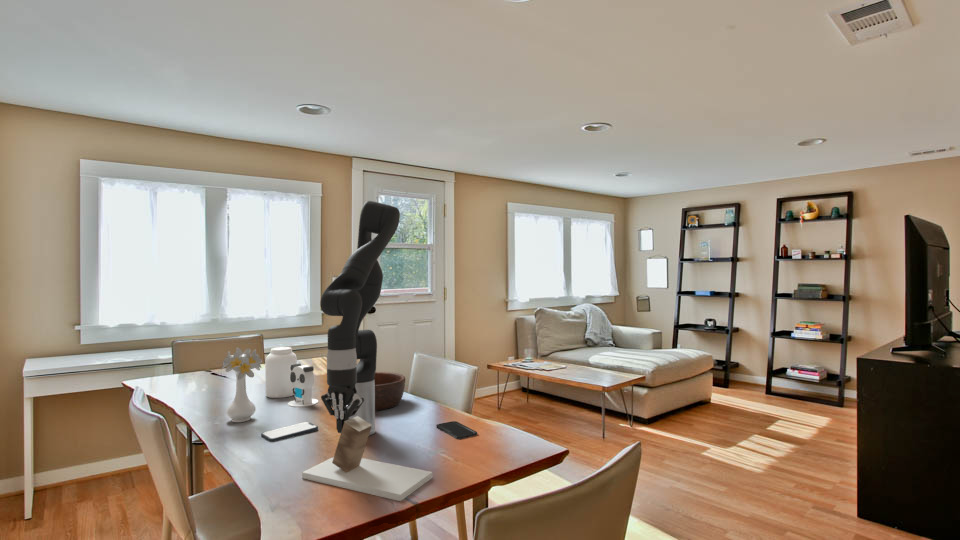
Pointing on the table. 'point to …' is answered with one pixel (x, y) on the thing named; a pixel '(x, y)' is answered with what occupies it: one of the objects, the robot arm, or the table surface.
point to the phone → (456, 430)
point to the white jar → (279, 372)
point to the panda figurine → (302, 385)
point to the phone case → (289, 431)
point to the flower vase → (241, 383)
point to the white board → (371, 478)
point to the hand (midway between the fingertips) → (342, 432)
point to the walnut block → (351, 443)
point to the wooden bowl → (388, 389)
